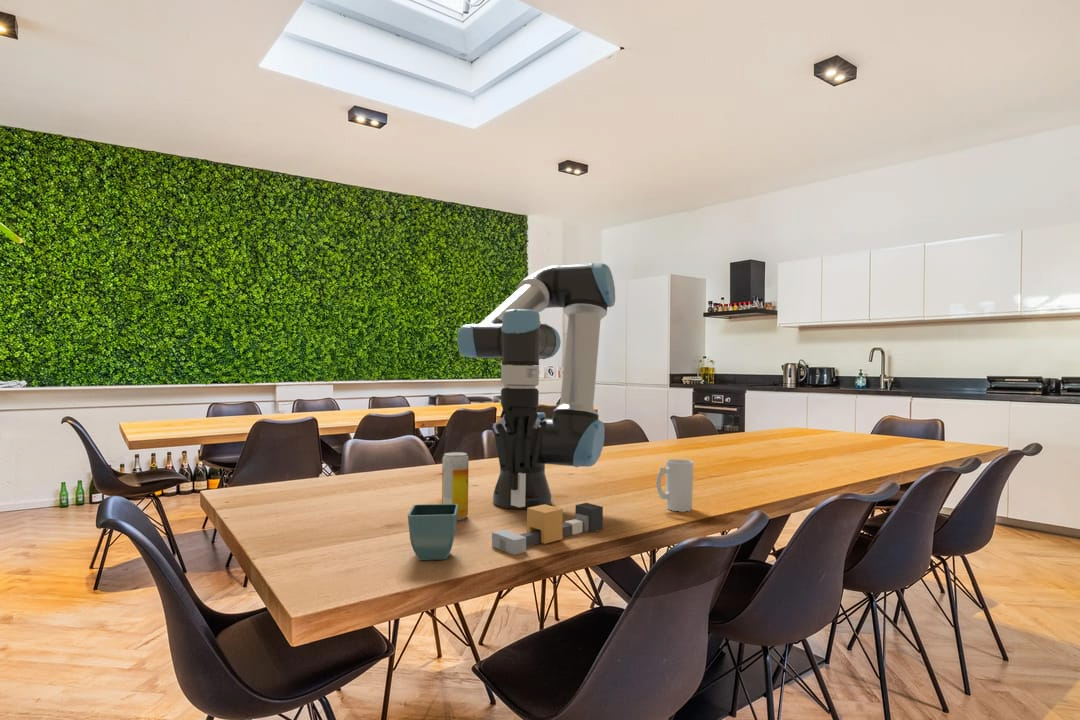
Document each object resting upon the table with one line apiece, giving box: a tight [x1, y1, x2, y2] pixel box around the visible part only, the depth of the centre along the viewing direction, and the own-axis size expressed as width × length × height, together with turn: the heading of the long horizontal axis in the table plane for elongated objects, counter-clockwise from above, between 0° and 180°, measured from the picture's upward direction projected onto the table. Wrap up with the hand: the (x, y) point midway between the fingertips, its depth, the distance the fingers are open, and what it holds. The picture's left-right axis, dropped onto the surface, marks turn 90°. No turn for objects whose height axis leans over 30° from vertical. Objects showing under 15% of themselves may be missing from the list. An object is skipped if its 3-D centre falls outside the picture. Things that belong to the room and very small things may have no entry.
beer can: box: [441, 451, 470, 521], centre depth 144 cm, size 6×6×15 cm
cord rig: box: [491, 502, 604, 556], centre depth 128 cm, size 26×7×5 cm, turn 132°
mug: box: [656, 458, 694, 513], centre depth 154 cm, size 10×7×12 cm, turn 112°
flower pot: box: [407, 503, 458, 561], centre depth 116 cm, size 9×9×9 cm
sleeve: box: [526, 504, 564, 544], centre depth 127 cm, size 5×5×6 cm
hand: (517, 505), depth 122 cm, fingers closed
